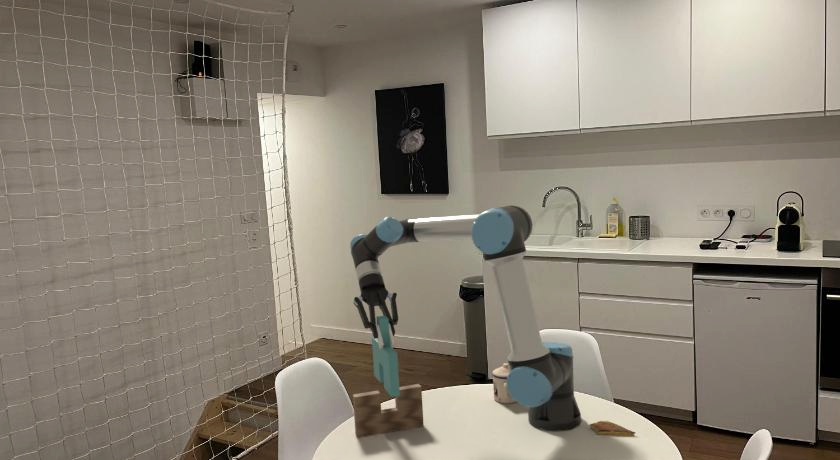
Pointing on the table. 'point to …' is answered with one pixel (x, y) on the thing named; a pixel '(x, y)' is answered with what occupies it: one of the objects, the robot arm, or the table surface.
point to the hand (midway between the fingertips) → (387, 346)
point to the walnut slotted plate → (388, 412)
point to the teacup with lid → (502, 384)
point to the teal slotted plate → (386, 360)
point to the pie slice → (610, 429)
